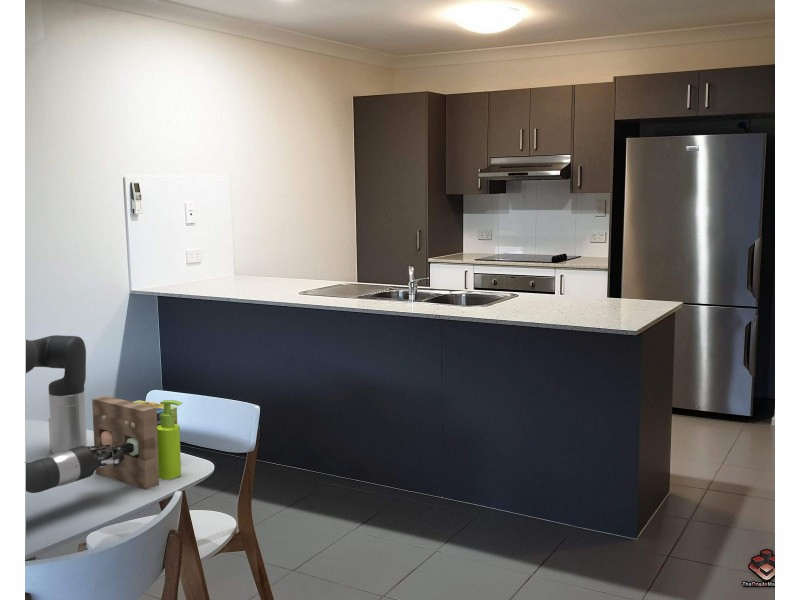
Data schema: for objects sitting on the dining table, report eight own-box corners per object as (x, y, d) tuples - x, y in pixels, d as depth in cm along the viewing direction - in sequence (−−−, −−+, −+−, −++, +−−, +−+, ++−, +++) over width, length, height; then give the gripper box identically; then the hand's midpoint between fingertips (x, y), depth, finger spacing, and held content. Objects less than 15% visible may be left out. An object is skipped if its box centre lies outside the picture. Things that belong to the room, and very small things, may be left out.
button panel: (94, 473, 200) (91, 399, 197) (108, 469, 203) (105, 395, 201) (145, 490, 189) (142, 411, 186) (159, 484, 193) (156, 407, 190)
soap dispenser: (177, 480, 195) (175, 404, 193) (153, 478, 197) (150, 403, 194) (188, 472, 201) (186, 398, 199) (164, 470, 203) (162, 397, 200)
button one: (101, 446, 198) (100, 430, 197) (111, 443, 200) (110, 427, 200) (112, 449, 195) (111, 433, 195) (121, 446, 198) (121, 430, 197)
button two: (126, 453, 192) (125, 436, 192) (136, 450, 195) (135, 433, 194) (137, 457, 190) (137, 439, 189) (147, 453, 192) (147, 436, 192)
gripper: (85, 456, 172) (148, 436, 187) (51, 445, 180) (114, 427, 194) (87, 488, 173) (149, 466, 188) (52, 476, 180) (115, 456, 195)
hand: (131, 446), depth 191 cm, fingers closed
